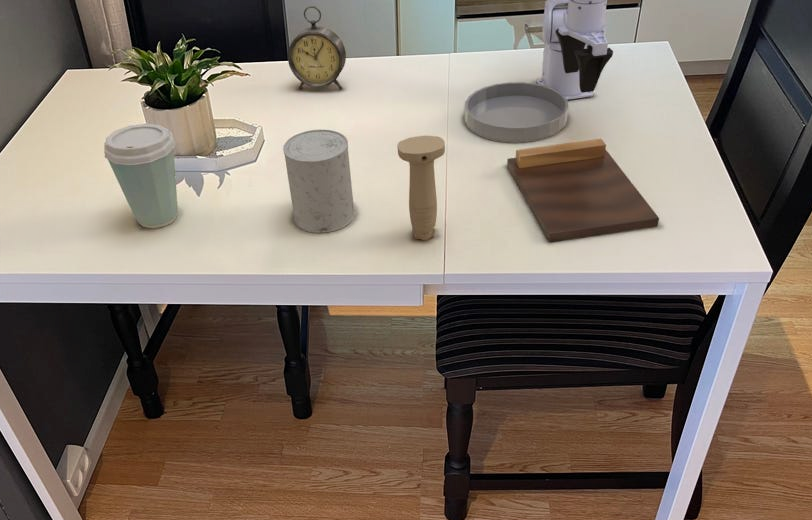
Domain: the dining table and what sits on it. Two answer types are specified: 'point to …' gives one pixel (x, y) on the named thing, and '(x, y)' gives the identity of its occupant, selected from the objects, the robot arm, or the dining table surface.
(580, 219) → the board
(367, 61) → the dining table surface
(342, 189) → the grey mottled cylinder
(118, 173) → the disposable coffee cup
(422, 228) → the handle
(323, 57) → the alarm clock
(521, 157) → the stick
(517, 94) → the tin
